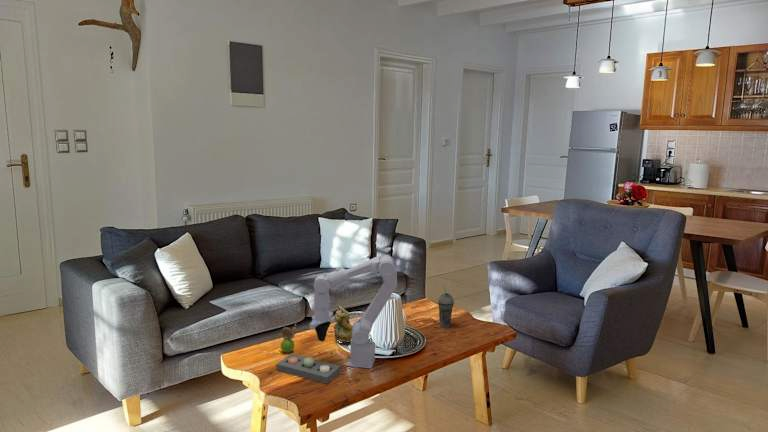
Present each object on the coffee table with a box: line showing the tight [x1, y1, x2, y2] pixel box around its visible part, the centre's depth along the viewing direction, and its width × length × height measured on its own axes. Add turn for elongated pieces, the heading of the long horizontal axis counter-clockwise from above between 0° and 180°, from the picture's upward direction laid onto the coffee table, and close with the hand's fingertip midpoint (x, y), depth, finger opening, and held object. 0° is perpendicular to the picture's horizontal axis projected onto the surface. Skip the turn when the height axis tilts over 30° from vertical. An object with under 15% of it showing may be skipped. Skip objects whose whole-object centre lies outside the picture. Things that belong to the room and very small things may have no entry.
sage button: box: [304, 356, 314, 369], centre depth 201 cm, size 4×4×3 cm
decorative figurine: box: [333, 305, 353, 342], centre depth 228 cm, size 10×8×15 cm
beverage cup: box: [437, 283, 455, 329], centre depth 245 cm, size 7×7×20 cm
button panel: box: [276, 353, 342, 385], centre depth 201 cm, size 22×10×2 cm, turn 65°
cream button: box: [320, 365, 330, 373], centre depth 198 cm, size 4×4×3 cm
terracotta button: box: [288, 357, 298, 365], centre depth 204 cm, size 4×4×3 cm
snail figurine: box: [280, 323, 297, 353], centre depth 216 cm, size 5×6×12 cm
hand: (321, 340), depth 206 cm, fingers closed
